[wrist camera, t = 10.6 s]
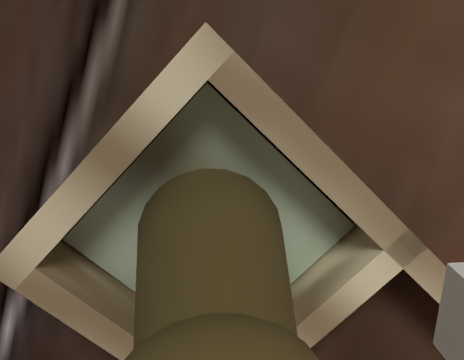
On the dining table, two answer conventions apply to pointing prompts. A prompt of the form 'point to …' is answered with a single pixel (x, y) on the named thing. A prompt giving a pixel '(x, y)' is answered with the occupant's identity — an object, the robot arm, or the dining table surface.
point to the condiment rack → (210, 157)
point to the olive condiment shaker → (213, 274)
